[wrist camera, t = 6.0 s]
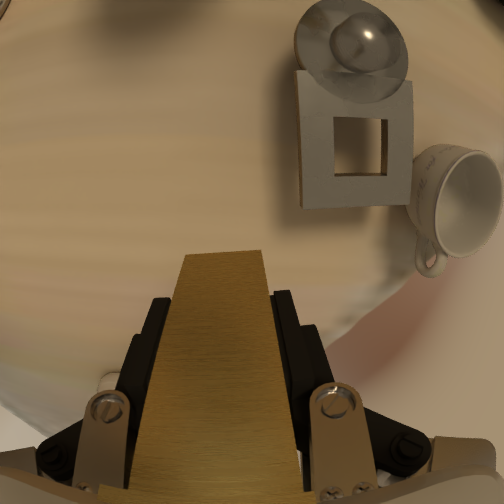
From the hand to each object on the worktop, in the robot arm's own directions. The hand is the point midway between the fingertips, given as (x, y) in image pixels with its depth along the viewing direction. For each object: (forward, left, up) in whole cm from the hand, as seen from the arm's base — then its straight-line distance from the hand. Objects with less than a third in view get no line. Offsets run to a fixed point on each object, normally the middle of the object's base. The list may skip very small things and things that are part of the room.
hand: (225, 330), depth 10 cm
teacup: (+1, +21, -20) cm, 29 cm away
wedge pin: (0, 0, -3) cm, 3 cm away
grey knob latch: (-8, +10, -19) cm, 23 cm away
